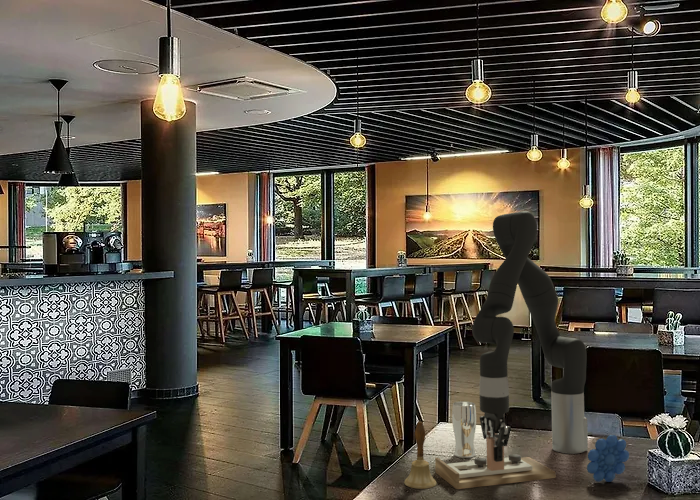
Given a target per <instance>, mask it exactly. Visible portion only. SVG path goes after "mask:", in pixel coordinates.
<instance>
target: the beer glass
mask: <svg viewBox="0 0 700 500" xmlns="http://www.w3.org/2000/svg"><path fill="white" fill-rule="evenodd" d="M451 408H452V410H451V422H452V429H453V433H454V434H453V435H454V442H455V444H454V445H455V446H454V447H455V448H454V452H453V453H454V456H455V457H457V458H460V459H469V458H474V457H476V450H475V444H474V443H475V442H474V441H475V436H476V435H475V433H476V428H477V411H476V409H477V408H476V403H475V402H473V401H468V400H467V401H464V400H463V401H462V400H461V401H454V402H453V403H452V407H451Z"/></svg>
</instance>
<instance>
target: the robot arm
mask: <svg viewBox="0 0 700 500" xmlns="http://www.w3.org/2000/svg"><path fill="white" fill-rule="evenodd" d="M537 222H538V221H537V220H536V217H535V215H534V214H533V213H531V211H528V210H527V211H526V210H523V211H516V212H510V213H504V214H499V215H497V216H496V217H495V218H494V220H493V221H492V233H493V236H494V237H495V241H496V244H498V248H500V251H501V252H502V254H503V256H504V258H505V259H504V260H503V261H502V263H501V264H500V265H499V267H498V268H497V269H496V270H495V272H494V274H493V276H491V280H490V283H489V286H488V291H487V295H486V299H485V301H484V303H483V305H482V306H481V308H480V310H479V311H478V313H477V315H476V316H475V319H474V320H473V323H472V327H471V332H472V336H473V339H474V340H475V341H476V342H478V343H481V344H491V345H492V344H493V345H494V344H496V347H495V349H494V350H493V351H487V352H483V353H482V354H480V357H479V383H478V386H479V389H478V390H479V393H478V394H479V411H480V412H482V413H484V414H483V415H482V416H481V415H480V416H479V423H480V427H481V432H482V437H483V439H484V440H486V441H485V442H486V443H487V438H486V437H492V438H493V445H494V461H496V462H499V461H502V460H503V448H502V447H503V446H504V447H507V446H508V443H509V439H510V435H511V431H512V429H511V426H510V425H509V426H507V425H506V420H505V415H506V414H507V413H508V412H509V410H510V388H509V385H510V384H509V379H508V359H509V354H510V349H511V345H512V341H513V339H514V338H513V337H514V334H515V333H514V331H515V328H514V323H513V321H511V319H509V318H508V317H506V316H505V317H504V316H499V315H501V314H506V313H509V312H510V311H511V310H512V308H513V305H514V301H515V297H516V291H517V287H519V289H520V291H519V292H520V293H521V295H522V297H523V298H522V299H524V302H525V304H526V305H525V306H527V309H528V311H529V314H530V316H531V319H532V322H533V324H534V326H535V329H536V332H537V335H538V338H539V339H538V340H539V342H540V345H541V346H540V347H541V349H542V351H543V354H544V358H545V360H546V362H547V363H548V364H549V365H550V366H552V367H555V368H559V369H563V376H562V377H561V378H559V379H554V380H552V382H551V384H550V385H551V386H550V387H551V388H550V392H551V396H550V398H551V438H552V439H551V442H552V443H551V445H552V447H551V448H552V450H553V451H555V452H557V453H563V454H567V455H568V454H571V455H573V454H574V455H576V454H580V453H584V452H588V451H589V449H588V448H589V447H588V446H589V445H588V443H589V441H588V440H589V439H588V438H589V437H588V418H587V417H586V416H585V394H584V393H585V384H586V382H587V381H586V380H587V364H588V363H587V361H588V360H587V358H588V357H587V348H586V345H585V343H584V342H583V341H582V339H579V338H574V337H567V336H566V337H565V336H562V335H561V334H560V332H559V330H558V327H557V324H556V320H555V319H556V314H557V311H558V305H559V296H558V293H557V290H556V289H555V288H556V287H555V285H554V284H553V281H552V279H551V277H550V275H549V273H547V272H546V271H545V270H544V269H543V268H541V267H540V266H539V265H538V264H536V263H535V262H534V261H533V260H532V259H531V258H529V256H530V252H531V250H532V248H533V245H534V243H535V241H536V237H537V233H538V223H537ZM497 438H498V439H497Z"/></svg>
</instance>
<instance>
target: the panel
mask: <svg viewBox="0 0 700 500" xmlns="http://www.w3.org/2000/svg"><path fill="white" fill-rule="evenodd" d="M486 438H487V442H486V459H487V464H486V465H483V467H481V468H478V465H476V464H475V463H474V460H472V461H462V462H453V463H452V462H451V463H446V464H447V465H448V466H450V467H451V468H453V469H454V470H455V471H457V472H458V473H459V478H466V477H475V476H484V475H493V474H502V473H511V472H520V471H529V470H533V466H531V465H530V464H528V463H526V462H524V461H523V460H521V461H518V464H512V461H510V460H509V456H507V457H505V446H503V447H502V448H503V460H502V461H499V462H496V461H494V445H493V438H492V437H486ZM497 439H498V438H497ZM459 469H467V470H463V471H460V470H459ZM469 469H471V470H469Z"/></svg>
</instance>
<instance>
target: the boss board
mask: <svg viewBox="0 0 700 500" xmlns="http://www.w3.org/2000/svg"><path fill="white" fill-rule="evenodd" d="M508 457H509V460H510V461H512V464H518V461H521V460H523V461H524V462H526V463H528V464H530V465H531V466H533V470H529V471H520V472H511V473H502V474H493V475H484V476H475V477H466V478H459V473H458V472H457V471H455V470H454V469H453V468H451V467H450V466H448V465H447V464H448V463H446V462H444V460H442V459H441V458H439V457H435V458H434V462H435V463H434V464H435V465H434V466H435V469H434V471H435V473H436V474H437V475H438V476H440V477H441V478H442V479H443V480H445V482H447V483H448V484H449V485H451V487H453V488H454V489H455V490H461V489H462V490H463V489H471V488H477V487H478V488H480V487H487V486H489V487H490V486H497V485H504V484H505V485H506V484H513V483H515V484H516V483H520V482H521V483H522V482H524V483H525V482H530V481H531V482H532V481H539V480H548V479H556V478H557V474H556V473H557V472H556V471H555V470H553V469H551V468H549V467H547V466H546V465H544V464H542V463H541V462H539V461H537V460H535V459H534V458H531V457H530V456H523V457H522V456H521V455H520V454H516V453H515V454H514V453H513V454H509V455H508ZM473 461H474V463H475V464H476V465H478V468H481V467H483V465H486V464H487V458H485V457H475V458H474V460H473ZM459 470H460V471H463V470H467V469H459ZM469 470H471V469H469Z"/></svg>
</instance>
